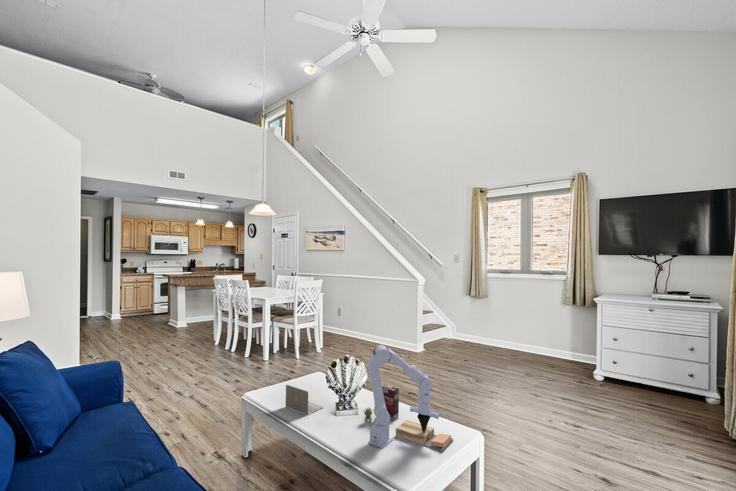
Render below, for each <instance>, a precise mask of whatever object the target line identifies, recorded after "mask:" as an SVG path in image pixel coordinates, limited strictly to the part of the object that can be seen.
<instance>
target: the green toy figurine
mask: <svg viewBox="0 0 736 491" xmlns="http://www.w3.org/2000/svg"><path fill="white" fill-rule="evenodd" d="M362 413H363V414H364V415H363V423H368V424H370V423H373V420H374V417H373V413H374V410H372V408H371V407H368V408H364V409H363V410H362Z"/></svg>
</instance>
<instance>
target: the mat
mask: <svg viewBox="0 0 736 491" xmlns="http://www.w3.org/2000/svg"><path fill="white" fill-rule="evenodd" d="M437 435H438V434H434V436H433V437H432V438H431V439H430V440H429V441H428V442H427V443H426V444H424V445H423V446H424V447H427V448H429V449H432V450H435V451H438V452H441V453H443V452H444V451H445V450H447V448H448V447H449V446H450V445H451V444H452V443H453V441H454V438H453V437H451V440H450V442H449V443H448V444H447V445H446V446H445V447H444V448H443V447H437V446H432V445H431V441H432V440H433V439H434V438H435V437H436V436H437Z"/></svg>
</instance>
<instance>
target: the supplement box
mask: <svg viewBox="0 0 736 491" xmlns="http://www.w3.org/2000/svg"><path fill="white" fill-rule="evenodd" d="M382 390H383V396H384V401H385V405H386V409H387V411H388V413H389V415H390V420H391V421H395V420H397V419H399V416H400V415H399V412H400V411H399V408H400V407H399V406H400V405H399V404H400V402H399V401H400V395H399V394H400V393H399V392H400V389H399V388H397V387H395V386H391V385H388V384H386V385H382Z"/></svg>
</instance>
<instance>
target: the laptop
mask: <svg viewBox="0 0 736 491" xmlns="http://www.w3.org/2000/svg"><path fill="white" fill-rule="evenodd" d="M285 407H286V408H287V409H290V410H293V411H295V412H298V413H301V414H303V415H306V416H310V415H311V414H314V413H316V412H317V411H319V410H322V409H323V408H324V406H321V405H318V404H316V403H313V402H310V401H309V391H306V390H304V389H301V388H298V387H295V386H291V385H289V384H286V385H285Z"/></svg>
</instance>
